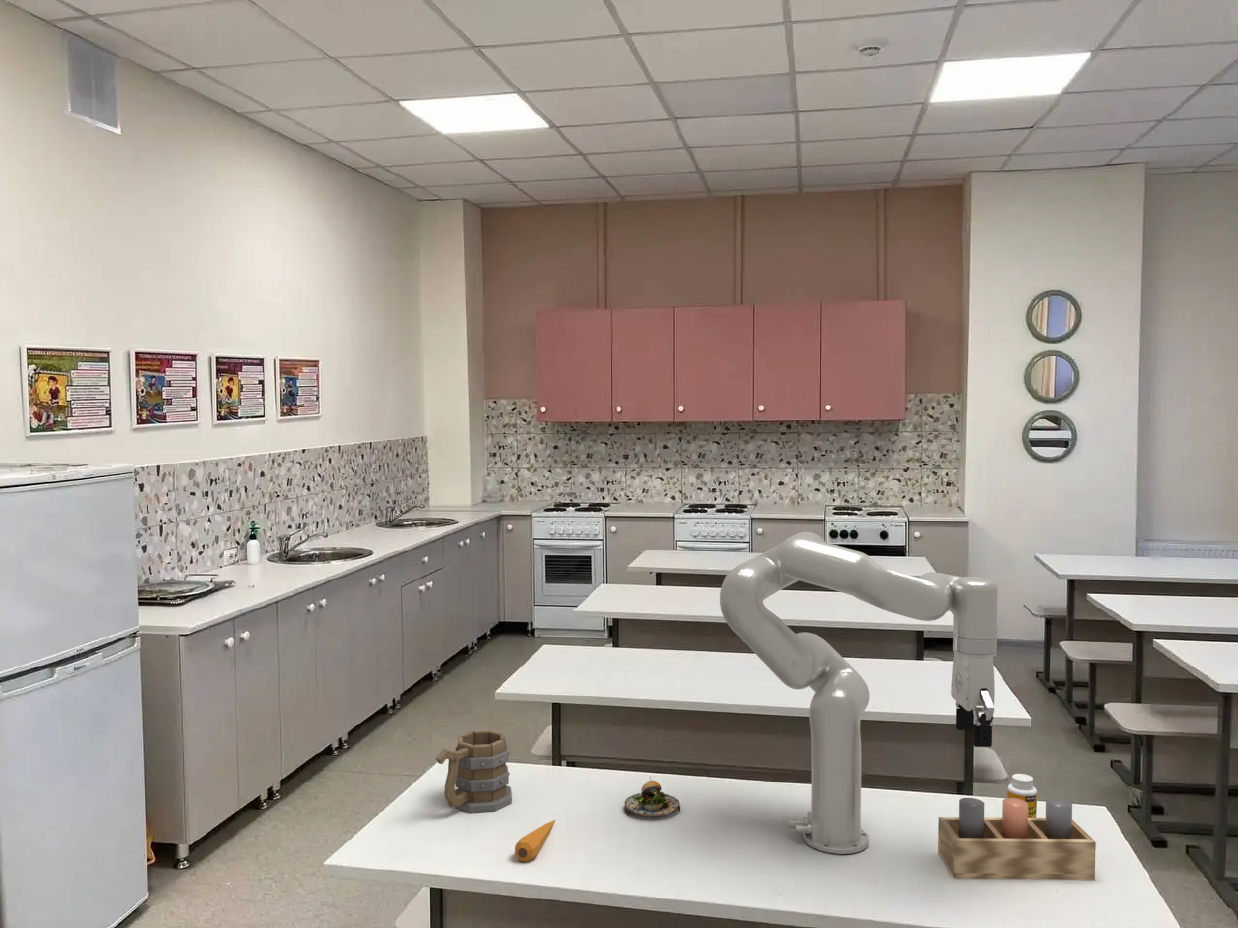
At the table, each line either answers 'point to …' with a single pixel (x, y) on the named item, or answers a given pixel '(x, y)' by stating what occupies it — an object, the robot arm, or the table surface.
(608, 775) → the table surface
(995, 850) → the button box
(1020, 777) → the supplement bottle
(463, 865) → the table surface
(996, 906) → the table surface
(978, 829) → the plunger left
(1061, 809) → the plunger right
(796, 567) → the robot arm
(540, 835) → the carrot
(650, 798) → the burger
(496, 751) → the tankard
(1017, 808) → the pink cylinder
